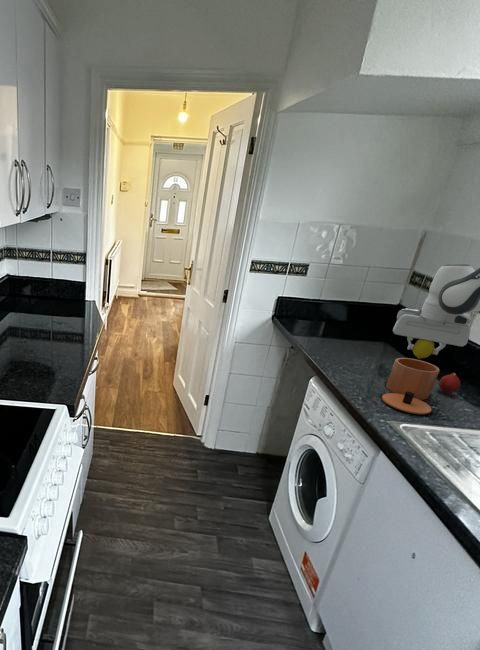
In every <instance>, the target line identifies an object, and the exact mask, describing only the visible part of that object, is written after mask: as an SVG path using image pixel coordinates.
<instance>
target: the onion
mask: <svg viewBox="0 0 480 650" xmlns="http://www.w3.org/2000/svg"><path fill="white" fill-rule="evenodd" d="M438 387H439V388H440V389H441V391H442V393H443V394H450V393H455V392H456V391H458V390H459V389H460V387H461V380H460V378H459V377H458V376H457V374H456V373H455V372H453V373H451V374H446V375H444V376H442V377H441V378H440V379H439V381H438Z"/></svg>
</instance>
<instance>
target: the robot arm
mask: <svg viewBox="0 0 480 650" xmlns="http://www.w3.org/2000/svg"><path fill="white" fill-rule="evenodd" d="M475 312H480V267H479V268H477V269H474V267H473V266H472V265H471V264H467V263H456V264H455V263H454V264H451V263H447V264H444V265H442V266H440V267H439V268H438V270H437V271H436V273H435V275H434V277H433V279H432V282H431V283H430V286H429V290H428V296H427V297H426V298H425V300H424V302H423V305H422V307H421V309H413V308H407V307H406V308H402V309H400V310H399V311H398V312H397V314H396V322H395V324H394V326H393V328H392V333H393V334H394V335H397V336H402V337H407V338H406V340H407V343H408V345H407V351H413V348H414V345H415V343H414V344H413V343H412V341H413V340H414V339H418V340H419V339H423V340H429V341H433V342H435V343H439V346H438V347H436V348H435V347H434V350H433V352H432V353H431V355H434V356H438V354H439V352H440V351H441V350H443V349H444V348H445V347H446V345H452V346H457V347H464V346H466V345H467V344H468V341H469V340H470V334H471V326H470V325H471V323H472V318H471V317H470V315H468V314H467V313H475Z"/></svg>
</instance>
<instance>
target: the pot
mask: <svg viewBox="0 0 480 650" xmlns="http://www.w3.org/2000/svg"><path fill="white" fill-rule="evenodd" d="M440 371H441V370H440V368H439V367H438V366H437V365H434V364H433V363H430V362H427V361H424V360H422V359H416V358H408V357H398V358H395V359H394V362H393V365H392V368H391V371H390V373H389V375H388V379H387V381H386V385H385V387H386V389H388V390H389V391H390V392H391V393H397V394H403V395H405V393H406V392H412V393H414V398H416V399H419V400H421V401H423V400H427V399H428V398H429V397H430V395H431V392H432V389H433V388H434V385H435V382H436V380H437V378H438V375H439V374H440Z"/></svg>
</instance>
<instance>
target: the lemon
mask: <svg viewBox="0 0 480 650" xmlns="http://www.w3.org/2000/svg"><path fill="white" fill-rule="evenodd" d="M434 348H435V343H434V341H429V340H423V339H418V340H417V341H415V343H414V348H413V350H412V352H413V355H414V356H415V357H416V358H417V360H422V359H426V358H428V357H430V356H431V355H432V354H431V353H432V352H433V350H434Z"/></svg>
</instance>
